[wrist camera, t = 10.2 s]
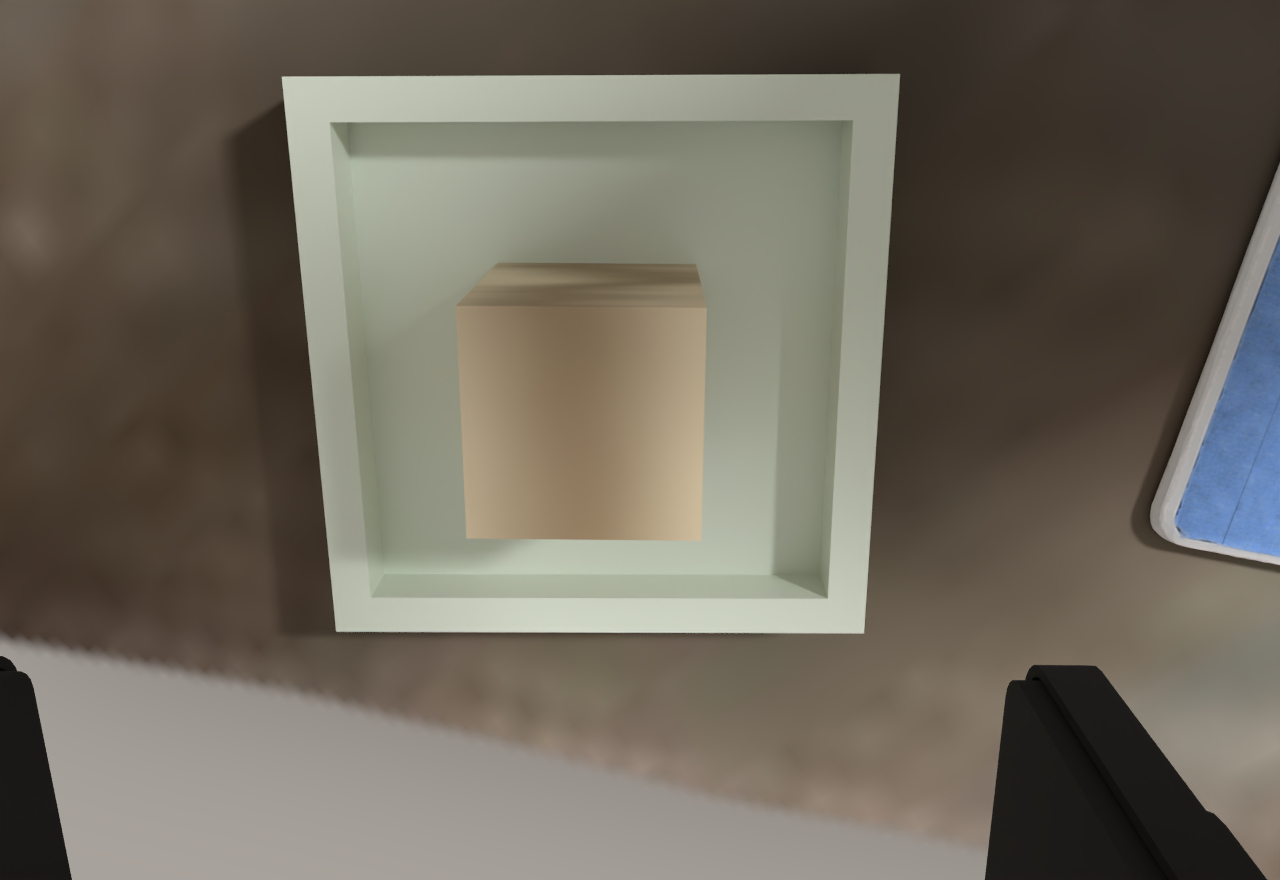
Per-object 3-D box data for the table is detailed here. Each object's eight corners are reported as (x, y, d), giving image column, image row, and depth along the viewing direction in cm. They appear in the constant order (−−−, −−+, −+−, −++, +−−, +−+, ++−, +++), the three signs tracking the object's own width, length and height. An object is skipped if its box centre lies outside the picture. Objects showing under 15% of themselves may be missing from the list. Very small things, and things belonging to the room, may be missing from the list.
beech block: (696, 264, 27) (706, 307, 21) (691, 452, 29) (701, 541, 23) (497, 262, 27) (455, 305, 22) (504, 451, 29) (466, 538, 23)
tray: (878, 76, 27) (900, 73, 24) (847, 591, 31) (864, 633, 29) (314, 79, 27) (282, 76, 25) (360, 590, 31) (336, 632, 29)
